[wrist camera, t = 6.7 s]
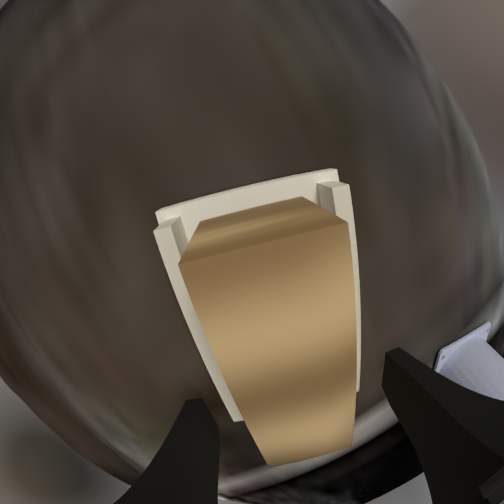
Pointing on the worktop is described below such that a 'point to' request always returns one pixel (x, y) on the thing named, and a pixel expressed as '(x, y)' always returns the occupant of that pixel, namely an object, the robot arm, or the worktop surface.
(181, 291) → the peg base
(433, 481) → the robot arm
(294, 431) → the golden brown block
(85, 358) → the worktop surface
